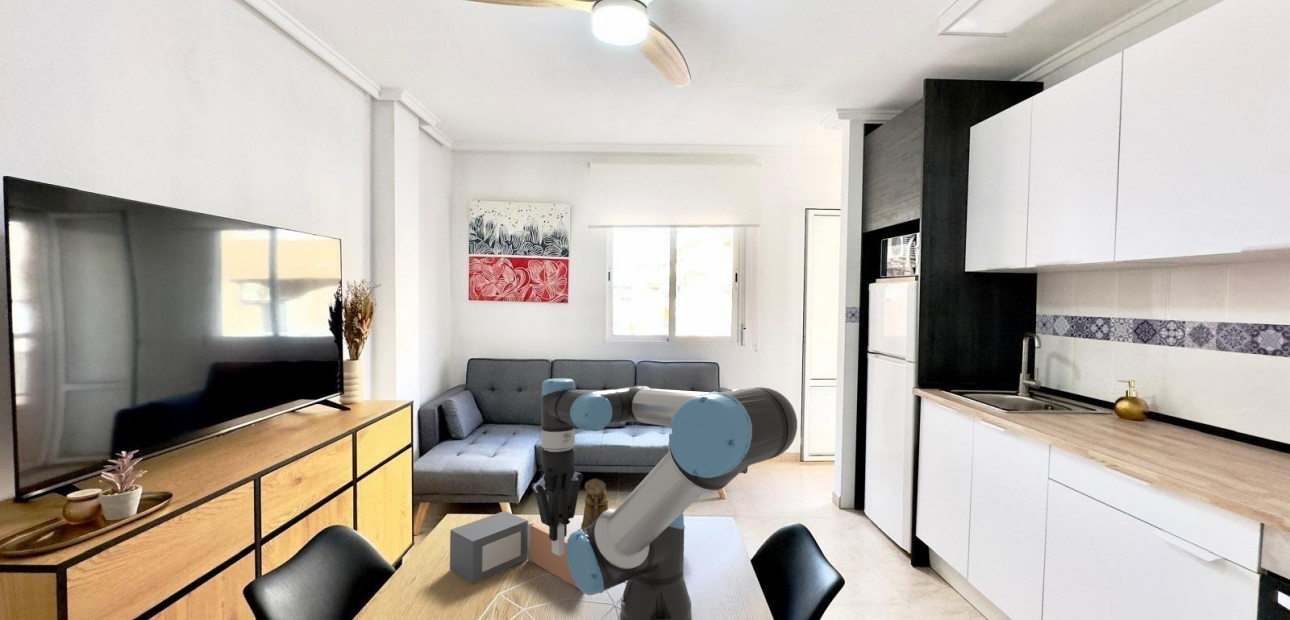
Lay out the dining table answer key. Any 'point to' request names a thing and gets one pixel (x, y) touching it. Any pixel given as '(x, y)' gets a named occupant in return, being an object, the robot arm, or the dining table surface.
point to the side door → (547, 553)
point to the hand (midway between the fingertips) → (558, 552)
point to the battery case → (488, 546)
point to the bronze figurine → (594, 501)
